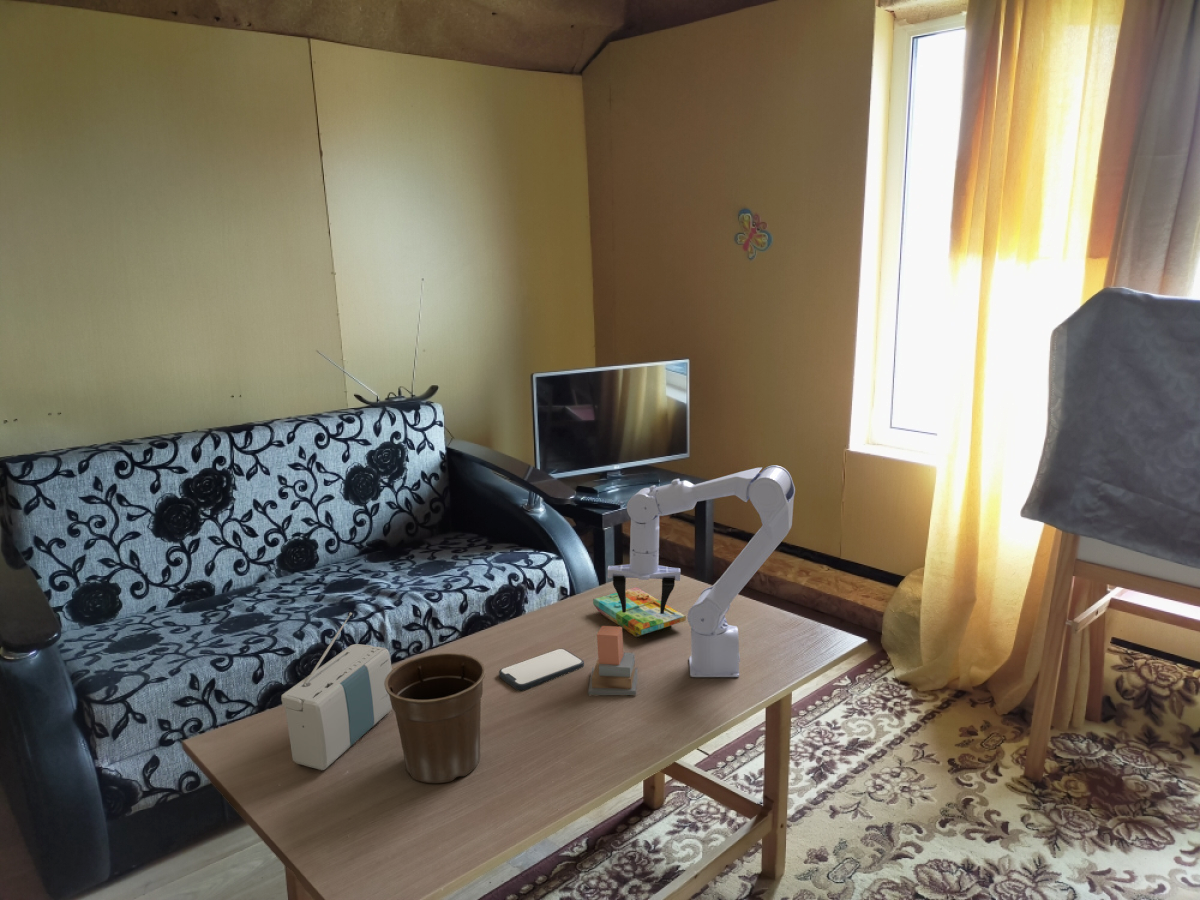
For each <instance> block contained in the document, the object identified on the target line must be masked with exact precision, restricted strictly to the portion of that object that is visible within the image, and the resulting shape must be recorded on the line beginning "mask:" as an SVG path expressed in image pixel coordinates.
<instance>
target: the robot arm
mask: <svg viewBox="0 0 1200 900" xmlns="http://www.w3.org/2000/svg"><path fill="white" fill-rule="evenodd" d="M760 471H761V472H760ZM680 480H681V479H680V478H675V479H673V480H671V483H668V484H665V485H661V486H657V485H655V484H654V485H650V486H649V487H644V488H641V489H640V490H639V491H638V492H636V493H634V494H633V495H632V496H631V497H630V499H629V500H628V501H627V504H626V511H627V514H628V516H629V518H630V528H629V529H630V531H629V533H630V534H629V536H630V537H629V538H630V540H629V541H630V543H629V564H628V563H627V564H621V565H607V566H608V567H607V579H612V585H613V588H614V589H615V591H616V592H615V593H617V594H618V596H619V599H620V602H621V606H622V612H625V613H626V590H627V589H626V584H627V583H626V581H627V579H638V580H640V581H647V580H650V579H654V580H655V579H656V580H657V579H658V580H659V579H660V580H661V597H660V601H661V605H660V614H664V609H665V605H667V602H668V599H669V597H670V596H671V593H672V592H673V590H674V588H675V584H676V583H675V581H676V582H681V568H679V567H669V566H665V565H659V558H660V557H659V555H660V551H659V550H660V517H664V516H667V515H672V514H677V513H682V512H687V511H690V510H693V509H694V508H695V507H696V505H697V502H703V501H707V500H708V501H709V500H713V499H719V498H724V497H729V496H736V497H737V498H739V499H740V500H742V501H743V502H745V503H747V502H748V501H749V500H750V502H751V504H752V506H753V507H754V509H755V510H756V512H757V513H758V514H759V518H760V521H761V524H762V526H761V527H760V528H759V529H758V531H756V533H755V534H754V535H753V536H752V537H751V539H750V540H749V542H748V543H747V544H746V546H745V547H744V548H743V549H742V550H741V552H740V553H739V554H738V555H737V556H736V558H735V559H734V560H733V561H732V562H731V564H730V565H729V566H728V567H727V569H726V570H725V571H724V572H723V574H722V575H721V576H720V578H718V579H717V580H716V582H715V583H714V584H712V586H708V587H705V588H704V589H703V590H702V591H701V593H700V595H699V596H698V599H696V601H695V603H694V604H693V605H692V606H691V607H690V608H689V609H688V612H687V617H686V619H687V623H688V624H689V626H690V634H691V635H690V637H691V639H690V641H691V642H690V643H691V644H690V645H691V655H690V656H689V659H688V661H689V662H688V663H689V676H690V677H692V678H738V677H740V663H741V658H740V654H741V653H740V642H739V640H740V638H739V628H738V626H737V625H730V624H728V620H727V618H726V614H727V613H728V611H729V610H730V608H731V603H733V601H734V599H736V597H737V596H738V595H739V593H741V591H742V590H743V589H744V587H745V586H746V585H747V584H748V582H749V581H751V579H752V578H753V576H754V575H755V574H756V572H757V571H758V570H759V569H760V568H761V567H762V566H763V564H764V563H765V562H766V561H767V560H768V558H769V557H770V556H771V555H772V554H773V552H774V551H775V550H776V548H777V547H778V546H779V545H780V544H781V542H783V540H784V539H785V538H786V537H787V535H788V534H789V533H790V530H791V529H792V526H793V517H794V516H793V514H794V513H793V512H794V501H795V500H794V499H795V495H796V487H795V484H794V482H793V478H792V476H791V474H790V472H789V471H788V470H787V469H786V468H785V467H782V466H780V465H769V466H766V467H764V468H763V467H754V468H751V469H746V470H742V471H739V472H735V473H731V474H728V475H725V476H721V477H718V478H713V479H709V480H707V481H703V482H699V483H695V484H694V483H692V482H690V481H689V480H681V481H680Z"/></svg>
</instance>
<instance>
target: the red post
mask: <svg viewBox="0 0 1200 900" xmlns="http://www.w3.org/2000/svg"><path fill="white" fill-rule="evenodd" d="M623 636H624V635H623V628H622V627H621V626H618V625H617V626H613V625H601V627H600V629H599V631H598V632H597V634H596V639H597V640H596V641H597V655H598V656H597V657H598V659H599V664H612V665H619V664H620V662H621V660H622V658H623V656H624V653H625V652H624V637H623Z"/></svg>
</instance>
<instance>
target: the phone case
mask: <svg viewBox="0 0 1200 900" xmlns="http://www.w3.org/2000/svg"><path fill="white" fill-rule="evenodd" d="M584 661H585V660H583V659H581V658H580V657H578V656H576V655H575V654H574V653H572V652H570V651H568V650H567V649H564V648H556V649H555V650H551V651H548V652H546V653H545V652H544V653H542V654H541V655H537V656H534V657H531V658H529V659H528V658H527V659H526V660H523V661H520V662H517V663H514V664H511V665H509V666H507V667H506V666H505V667H503V668H501V669H500V670H499V671H498V676H499V678H500V679H501V680H502V681H504V682H505V683H507V684H508V685H509V686H510V687H512V688H513V689H515V690H516V691H518V690H519V692H522V691H523V690H524V691H526V690H529V689H531V687H532V688H534V687H536V686H539V685H541V684H544V682H545V683H547V682H549V680H550V681H551V679H552V680H554V678H555V679H556V677H557V678H559V676H560V677H562V676H564V674H565V675H567V674H569V673H568V672H570V673H572V672H575V671H577V670H580V669H582V668H584V666H585V662H584ZM581 667H582V668H581ZM579 668H580V669H579ZM576 669H577V670H576ZM574 670H575V671H574ZM561 675H562V676H561ZM546 681H547V682H546Z"/></svg>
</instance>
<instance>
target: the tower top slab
mask: <svg viewBox="0 0 1200 900" xmlns="http://www.w3.org/2000/svg"><path fill="white" fill-rule="evenodd" d="M635 657H636V656H635V652H624V656H623V658H622V660H621V662H620V664H619V665H612V664H599V676H615V677H631V673H632V670H633V667H634V663H635V664H636V660H635Z"/></svg>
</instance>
